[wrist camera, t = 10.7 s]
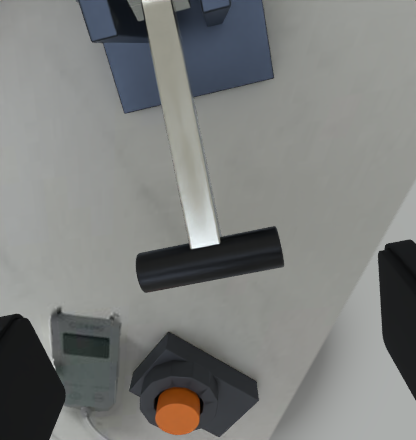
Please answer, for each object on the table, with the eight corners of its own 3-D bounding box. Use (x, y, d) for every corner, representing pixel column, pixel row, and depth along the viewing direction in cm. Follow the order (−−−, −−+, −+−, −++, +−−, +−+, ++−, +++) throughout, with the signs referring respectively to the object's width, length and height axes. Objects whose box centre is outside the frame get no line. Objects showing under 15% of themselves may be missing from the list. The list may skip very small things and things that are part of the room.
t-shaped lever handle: (281, 262, 15) (287, 270, 12) (154, 287, 15) (136, 298, 13) (212, -71, 15) (205, -125, 13) (90, -36, 16) (61, -83, 13)
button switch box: (258, 379, 37) (263, 416, 34) (217, 418, 39) (217, 457, 36) (170, 329, 35) (165, 363, 31) (131, 374, 37) (122, 410, 33)
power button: (208, 398, 33) (208, 416, 32) (184, 422, 34) (183, 441, 33) (173, 379, 32) (171, 397, 31) (149, 405, 34) (146, 422, 32)
